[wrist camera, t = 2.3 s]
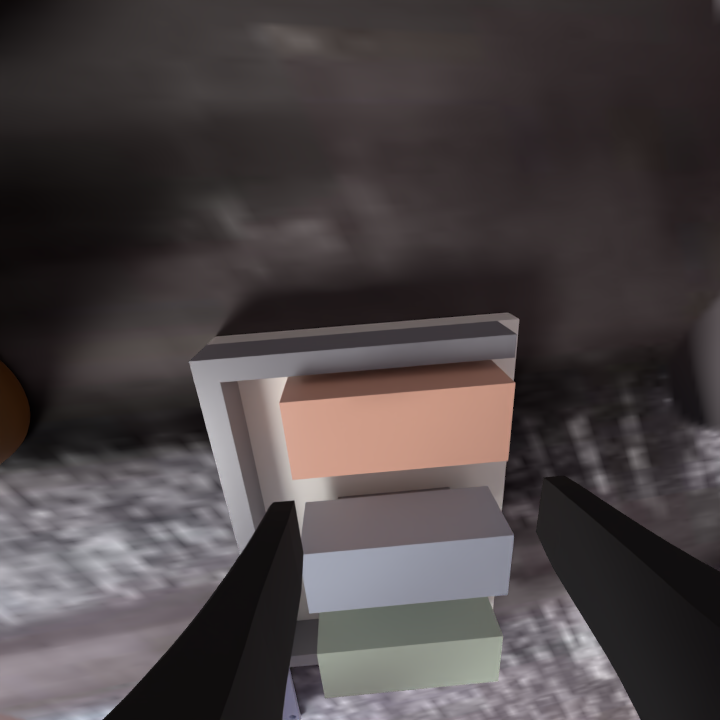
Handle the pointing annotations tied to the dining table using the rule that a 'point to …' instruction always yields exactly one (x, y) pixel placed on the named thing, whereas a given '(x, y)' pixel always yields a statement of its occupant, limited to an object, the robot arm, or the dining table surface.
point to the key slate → (405, 549)
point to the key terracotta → (397, 418)
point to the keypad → (321, 356)
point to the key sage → (408, 647)
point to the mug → (12, 413)
